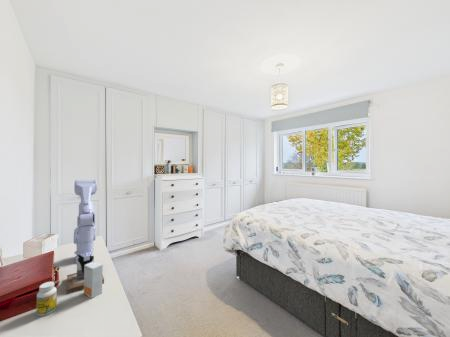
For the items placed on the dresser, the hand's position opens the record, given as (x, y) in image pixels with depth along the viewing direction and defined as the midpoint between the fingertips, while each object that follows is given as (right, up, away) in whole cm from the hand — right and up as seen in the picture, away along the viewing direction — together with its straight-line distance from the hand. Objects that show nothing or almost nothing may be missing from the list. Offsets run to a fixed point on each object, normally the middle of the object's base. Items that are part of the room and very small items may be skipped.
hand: (85, 270), depth 90 cm
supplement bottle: (-1, -5, -18) cm, 19 cm away
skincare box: (+9, -6, -8) cm, 13 cm away
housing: (0, -2, 0) cm, 2 cm away
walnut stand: (0, -5, 0) cm, 5 cm away
